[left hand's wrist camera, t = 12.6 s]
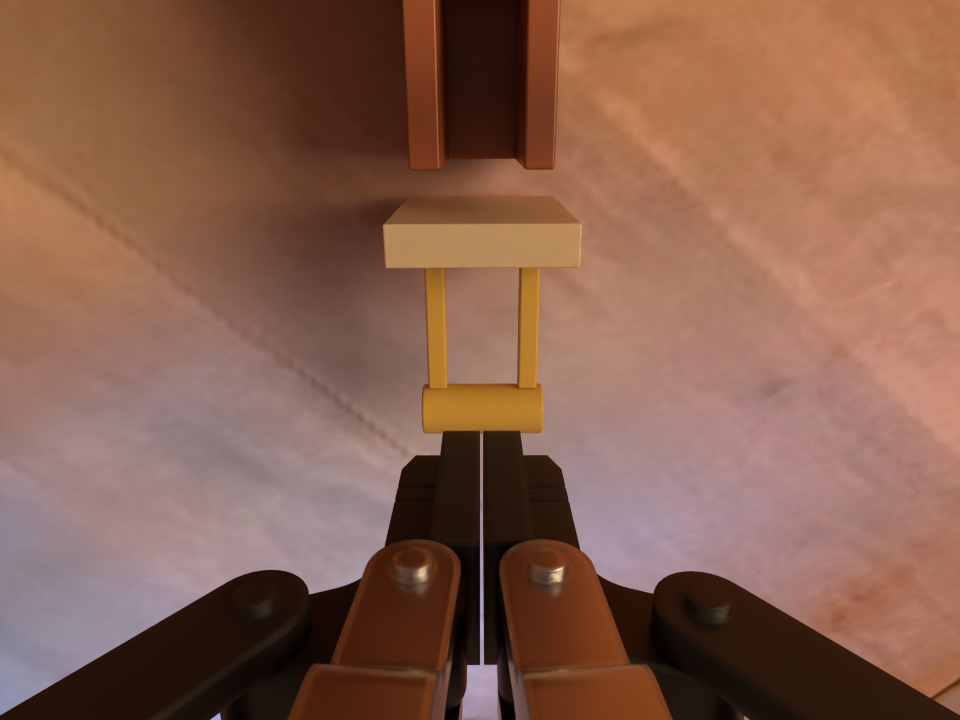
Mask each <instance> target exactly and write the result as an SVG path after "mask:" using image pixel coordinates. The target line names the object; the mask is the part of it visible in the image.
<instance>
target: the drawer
mask: <svg viewBox="0 0 960 720" xmlns="http://www.w3.org/2000/svg"><path fill="white" fill-rule="evenodd" d="M560 7H561V0H402V10H403V34H404V58H405V82H406V106H407V130H408V154H409V169H410V170H439V169H440V168H441V167H442V166H443V164H444V163H445V162H446V161H447V160H448V159H516V160H517V161H518V162H519V163H520V164H521V165H522V166H523V167H524V168H525V169H527V170H538V169H554V167H555V147H556V119H557V91H558V63H559V35H560ZM382 228H383V246H384V263H385V268H424V274H425V302H426V330H427V358H428V384H425V385H424V387H423V392H422V426H423V431H424V433H443V431H480V433H483V431H520V433H541V432H542V428H543V392H542V386H541V384H537V350H538V316H539V282H540V268H578V267H579V266H580V254H581V234H582V224H581V223H580V222H579V221H578V220H577V219H576V218H575V217H574V216H573V215H572V214H571V213H570V212H569V211H568V210H567V209H566V208H565V207H564V206H563V205H562V204H561V203H560V202H559V201H558V200H557V199H556V198H555V197H554V196H483V197H409V198H408V199H407V200H406V201H405V202H404V203H403V204H402V205H401V206H400V207H399V208H398V209H397V210H396V211H395V212H394V213H393V214H392V216H391V217H390V218H389V219H388V220H387V221H386V222H385V223H384V224H383V226H382ZM445 268H519V305H518V362H517V383H518V384H447V383H448V374H447V332H446V290H445Z"/></svg>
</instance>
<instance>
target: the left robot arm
mask: <svg viewBox="0 0 960 720" xmlns="http://www.w3.org/2000/svg"><path fill="white" fill-rule="evenodd" d="M483 581H484V665H497V676H498V706H497V707H498V720H744V716H746V717H747V718H748V719H750V720H960V715H958V714H956V713H955V712H953V711H951V710H950V709H948V708H946V707H944V706H943V705H941V704H939V703H938V702H936V701H934V700H933V699H931V698H929V697H927V696H926V695H924V694H922V693H921V692H919V691H917V690H916V689H914V688H912V687H910V686H909V685H907V684H905V683H904V682H902V681H900V680H898V679H897V678H895V677H893V676H892V675H890V674H888V673H887V672H885V671H883V670H881V669H880V668H878V667H876V666H875V665H873V664H871V663H870V662H868V661H866V660H864V659H863V658H861V657H859V656H858V655H856V654H854V653H852V652H851V651H849V650H847V649H846V648H844V647H842V646H841V645H839V644H837V643H835V642H834V641H832V640H830V639H829V638H827V637H825V636H823V635H822V634H820V633H818V632H817V631H815V630H813V629H812V628H810V627H808V626H806V625H805V624H803V623H801V622H800V621H798V620H796V619H795V618H793V617H791V616H789V615H788V614H786V613H784V612H783V611H781V610H779V609H777V608H776V607H774V606H772V605H771V604H769V603H767V602H766V601H764V600H762V599H760V598H759V597H757V596H755V595H754V594H752V593H750V592H748V591H747V590H745V589H743V588H742V587H740V586H738V585H737V584H735V583H733V582H731V581H729V580H727V579H725V578H722V577H719V576H716V575H713V574H709V573H704V572H695V571H687V572H679V573H674V574H671V575H669V576H667V577H665V578H663V579H662V580H661V581H660V582H659V583H658V584H657V586H656V588H655V590H654V594H652V593H647V592H643V591H639V590H634V589H630V588H626V587H623V586H620V585H617V584H614V583H612V582H610V581H608V580H606V579H604V578H602V577H601V576H599V575H598V574H597V573H596V570H595V568H594V565H593V563H592V561H591V560H590V559H589V557H588V556H587V555H586V554H585V553H583V552H582V551H581V550H580V547H579V542H578V538H577V534H576V530H575V525H574V521H573V517H572V513H571V508H570V504H569V502H568V496H567V491H566V488H565V483H564V479H563V474H562V470H561V468H560V467H559V466H558V465H557V464H556V463H554V462H553V461H552V460H551V459H550V458H549V457H548V456H547V455H523V450H522V443H521V435H520V431H483ZM467 665H480V431H443V437H442V446H441V454H440V455H416V456H415V457H414V458H413V459H412V460H411V461H410V462H409V463H408V464H407V465H406V466H405V467H404V468H403V469H402V472H401V476H400V481H399V485H398V489H397V494H396V498H395V503H394V507H393V512H392V516H391V520H390V525H389V529H388V534H387V538H386V543H385V547H384V548H382V549H381V550H379V551H378V552H377V553H375V554H374V555H373V556H372V557H371V559H370V560H369V561H368V563H367V565H366V568H365V570H364V573H363V576H362V578H361V579H359V580H357V581H355V582H353V583H351V584H348V585H346V586H342V587H339V588H335V589H331V590H327V591H323V592H318V593H314V594H310V595H309V591H308V588H307V585H306V584H305V583H304V581H303V580H302V579H301V578H299V577H298V576H296V575H294V574H292V573H289V572H286V571H280V570H263V571H256V572H252V573H248V574H245V575H242V576H239V577H237V578H235V579H233V580H231V581H229V582H227V583H225V584H223V585H222V586H220V587H218V588H217V589H215V590H213V591H212V592H210V593H208V594H206V595H205V596H203V597H201V598H200V599H198V600H196V601H194V602H193V603H191V604H189V605H188V606H186V607H184V608H183V609H181V610H179V611H177V612H176V613H174V614H172V615H171V616H169V617H167V618H166V619H164V620H162V621H160V622H159V623H157V624H155V625H154V626H152V627H150V628H148V629H147V630H145V631H143V632H142V633H140V634H138V635H137V636H135V637H133V638H131V639H130V640H128V641H126V642H125V643H123V644H121V645H119V646H118V647H116V648H114V649H113V650H111V651H109V652H108V653H106V654H104V655H102V656H101V657H99V658H97V659H96V660H94V661H92V662H91V663H89V664H87V665H85V666H84V667H82V668H80V669H79V670H77V671H75V672H73V673H72V674H70V675H68V676H67V677H65V678H63V679H62V680H60V681H58V682H56V683H55V684H53V685H51V686H50V687H48V688H46V689H45V690H43V691H41V692H39V693H38V694H36V695H34V696H33V697H31V698H29V699H27V700H26V701H24V702H22V703H21V704H19V705H17V706H16V707H14V708H12V709H10V710H9V711H7V712H5V713H4V714H2V715H0V720H210V719H212V718H213V717H214V716H216V715H217V714H218V713H220V716H221V720H462V707H463V706H462V698H463V696H464V694H465V691H466V685H467Z"/></svg>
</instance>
